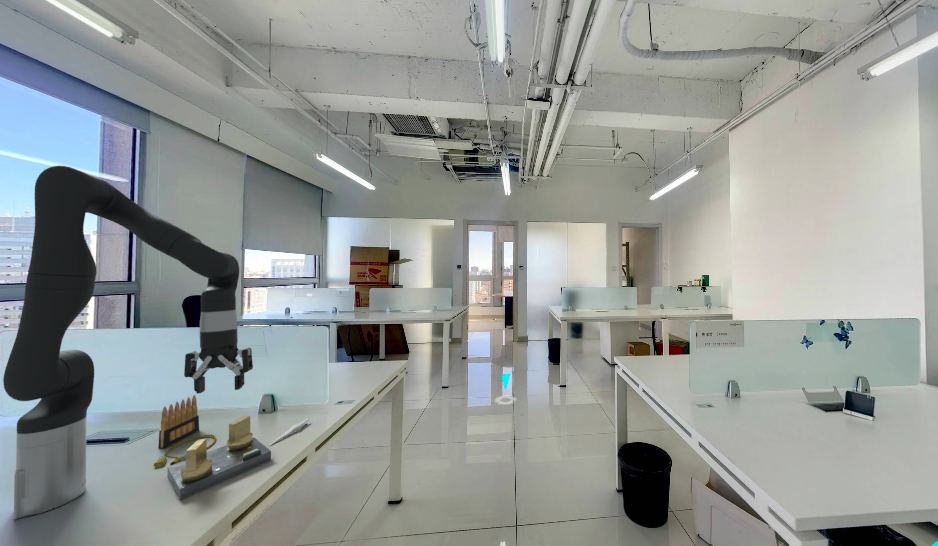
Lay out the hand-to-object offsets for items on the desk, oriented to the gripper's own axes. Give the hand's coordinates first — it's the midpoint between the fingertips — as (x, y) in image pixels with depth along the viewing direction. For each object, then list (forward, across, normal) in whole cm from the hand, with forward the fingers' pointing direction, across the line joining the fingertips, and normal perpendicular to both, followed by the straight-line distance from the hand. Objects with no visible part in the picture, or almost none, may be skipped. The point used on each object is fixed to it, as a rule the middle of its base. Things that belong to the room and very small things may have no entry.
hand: (219, 390), depth 77 cm
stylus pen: (+21, +11, +16) cm, 29 cm away
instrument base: (+20, 0, +1) cm, 20 cm away
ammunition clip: (+20, -22, +22) cm, 37 cm away
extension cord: (+21, -16, +13) cm, 29 cm away
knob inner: (+18, -2, -5) cm, 19 cm away
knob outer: (+18, +1, +7) cm, 19 cm away
